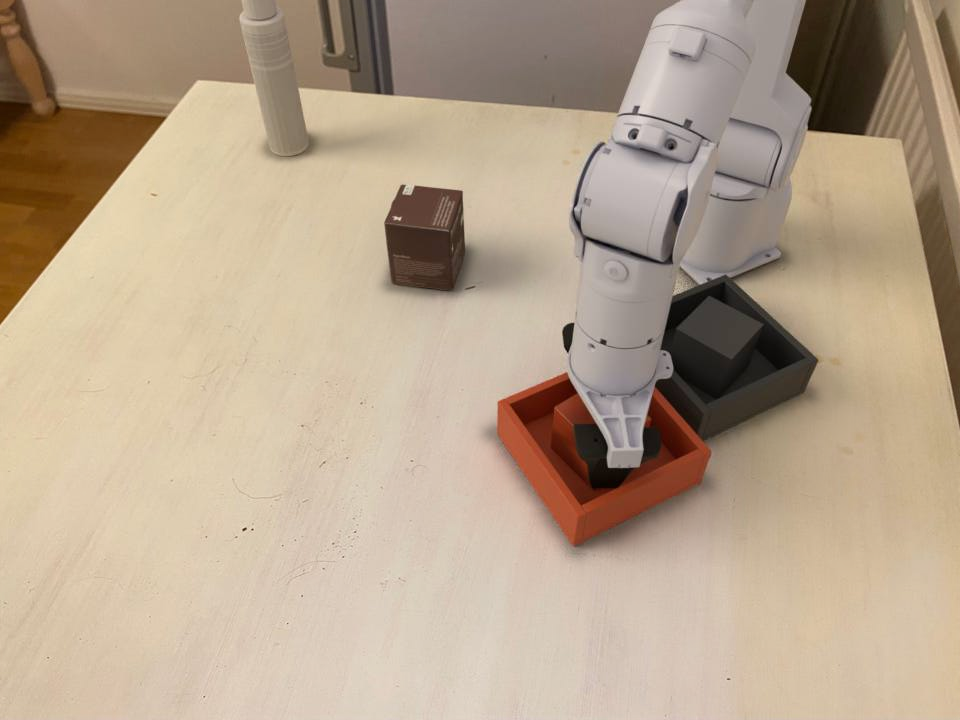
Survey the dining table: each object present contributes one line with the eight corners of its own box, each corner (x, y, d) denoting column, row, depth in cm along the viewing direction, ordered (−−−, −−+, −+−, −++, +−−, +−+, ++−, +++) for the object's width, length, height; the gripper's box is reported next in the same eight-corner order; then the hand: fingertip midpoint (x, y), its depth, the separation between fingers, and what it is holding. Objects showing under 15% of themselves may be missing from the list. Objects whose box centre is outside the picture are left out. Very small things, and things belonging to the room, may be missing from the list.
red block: (550, 447, 63) (553, 407, 59) (598, 416, 65) (605, 376, 61) (592, 491, 60) (599, 452, 56) (642, 458, 62) (651, 418, 58)
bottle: (312, 135, 93) (278, -46, 78) (303, 157, 90) (266, -27, 75) (275, 133, 93) (234, -48, 78) (265, 155, 90) (220, -28, 75)
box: (452, 293, 75) (449, 231, 70) (389, 285, 76) (382, 223, 71) (466, 251, 79) (464, 189, 74) (406, 243, 80) (400, 181, 75)
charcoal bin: (716, 307, 74) (726, 273, 71) (804, 392, 67) (819, 359, 64) (611, 351, 70) (617, 318, 67) (693, 446, 64) (703, 413, 61)
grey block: (697, 337, 71) (709, 295, 67) (748, 365, 68) (763, 324, 65) (665, 369, 68) (676, 328, 64) (718, 400, 66) (731, 359, 62)
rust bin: (615, 381, 68) (621, 348, 65) (701, 482, 61) (712, 451, 58) (496, 433, 65) (497, 401, 62) (573, 547, 58) (578, 517, 55)
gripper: (707, 404, 47) (668, 525, 57) (664, 240, 56) (637, 369, 66) (584, 406, 46) (567, 527, 57) (562, 242, 56) (551, 370, 66)
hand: (598, 442), depth 61 cm, fingers closed on red block, 7 cm apart
